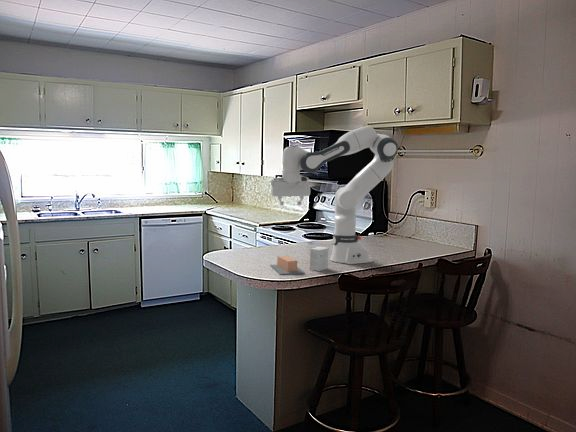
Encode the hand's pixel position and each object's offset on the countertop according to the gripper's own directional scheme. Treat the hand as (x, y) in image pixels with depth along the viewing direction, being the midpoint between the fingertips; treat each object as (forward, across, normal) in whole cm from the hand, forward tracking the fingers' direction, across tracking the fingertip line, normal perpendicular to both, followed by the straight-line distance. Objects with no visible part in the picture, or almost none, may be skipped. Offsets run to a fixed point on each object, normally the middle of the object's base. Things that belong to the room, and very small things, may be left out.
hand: (290, 205), depth 248 cm
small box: (+30, +10, -16) cm, 36 cm away
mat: (+30, -6, -15) cm, 34 cm away
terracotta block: (+27, -7, -9) cm, 29 cm away
